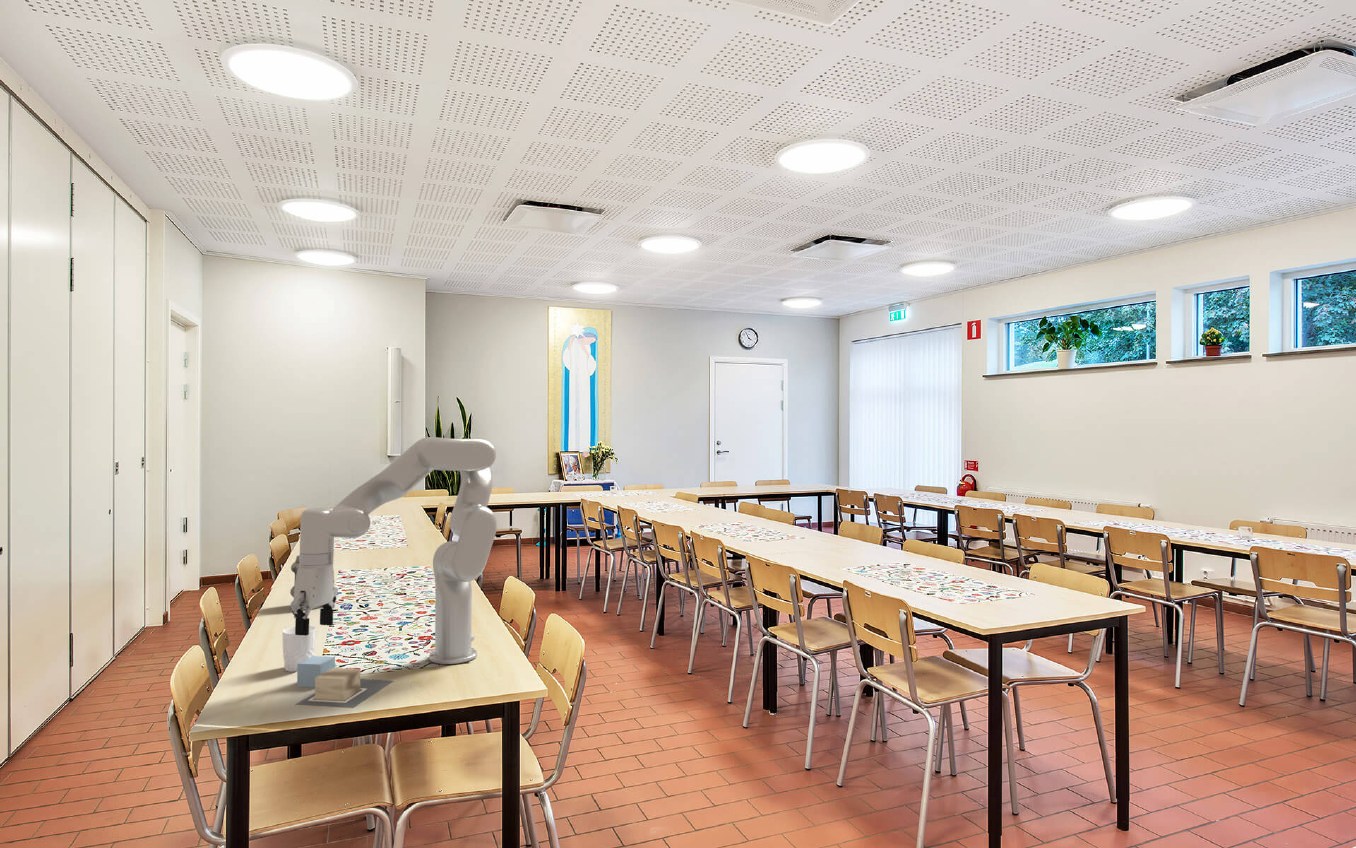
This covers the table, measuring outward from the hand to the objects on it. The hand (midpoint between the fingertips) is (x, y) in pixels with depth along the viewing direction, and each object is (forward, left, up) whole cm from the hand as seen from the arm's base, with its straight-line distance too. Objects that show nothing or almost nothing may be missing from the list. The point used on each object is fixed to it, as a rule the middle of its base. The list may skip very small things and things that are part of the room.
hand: (314, 629), depth 184 cm
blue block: (0, 0, -14) cm, 14 cm away
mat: (+5, +11, -13) cm, 18 cm away
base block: (+7, +10, -13) cm, 18 cm away
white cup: (-11, -12, -14) cm, 21 cm away
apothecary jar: (-73, -50, -14) cm, 90 cm away
